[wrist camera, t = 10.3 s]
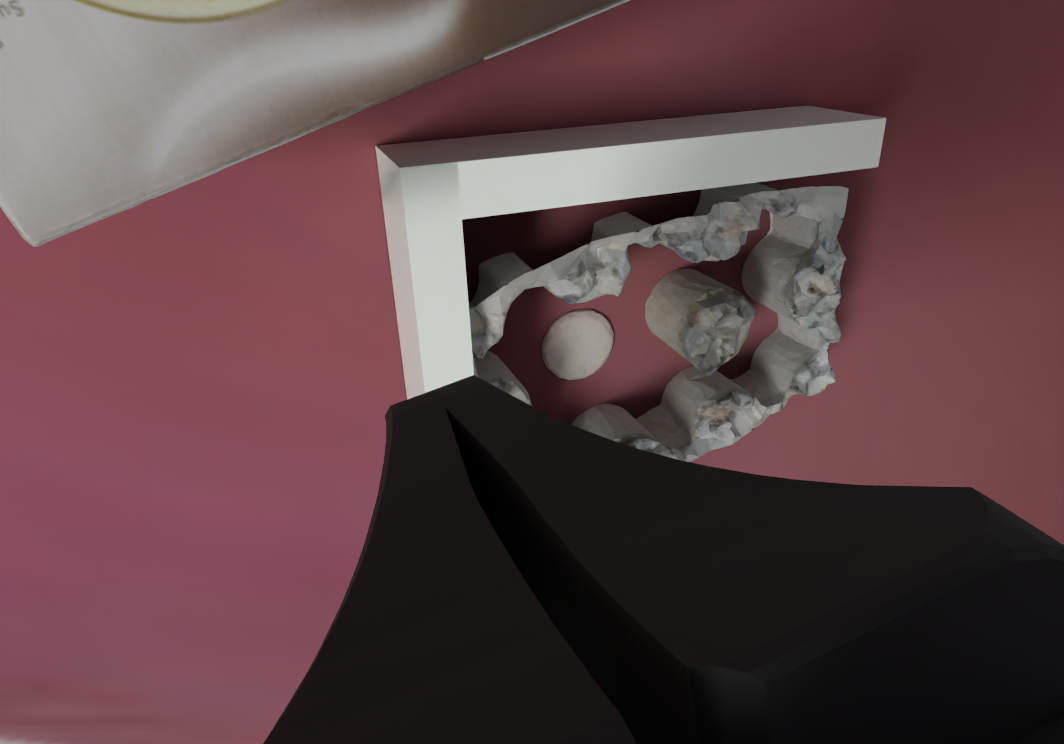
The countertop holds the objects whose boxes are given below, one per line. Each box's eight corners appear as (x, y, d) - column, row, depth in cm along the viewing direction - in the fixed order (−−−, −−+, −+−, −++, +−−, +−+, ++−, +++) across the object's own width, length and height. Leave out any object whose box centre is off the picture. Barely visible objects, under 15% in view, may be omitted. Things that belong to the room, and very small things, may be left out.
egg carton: (483, 478, 23) (527, 561, 19) (425, 248, 19) (466, 300, 16) (779, 372, 25) (865, 429, 22) (776, 150, 22) (880, 175, 18)
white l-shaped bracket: (807, 105, 21) (886, 117, 18) (748, 579, 29) (798, 634, 26) (375, 145, 17) (399, 167, 15) (441, 674, 25) (465, 747, 23)
